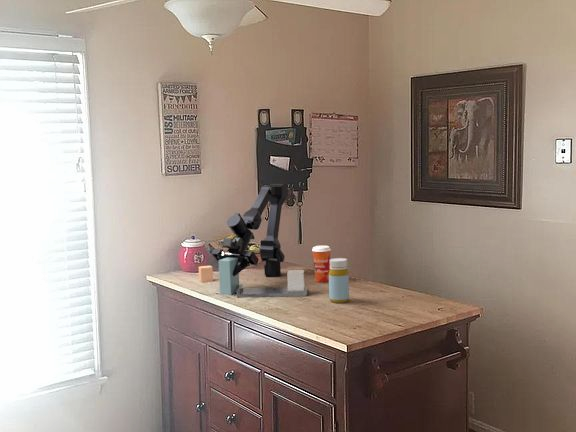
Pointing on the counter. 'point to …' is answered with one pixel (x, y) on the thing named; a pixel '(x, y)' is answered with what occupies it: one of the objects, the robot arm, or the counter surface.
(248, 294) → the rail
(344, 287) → the bottle
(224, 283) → the block
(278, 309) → the counter surface
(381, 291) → the counter surface
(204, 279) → the block
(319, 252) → the paper cup
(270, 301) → the counter surface
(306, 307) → the counter surface
